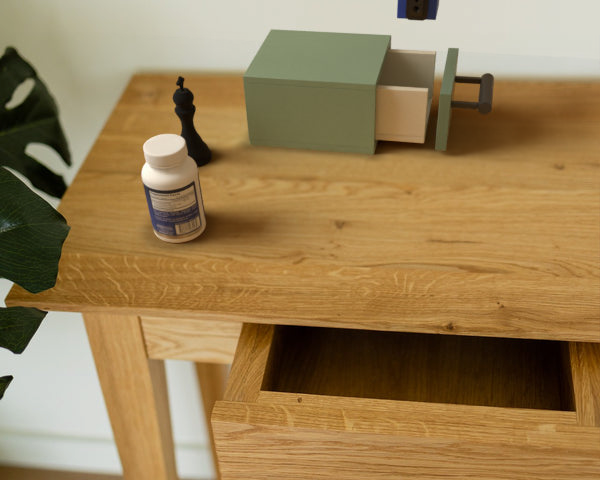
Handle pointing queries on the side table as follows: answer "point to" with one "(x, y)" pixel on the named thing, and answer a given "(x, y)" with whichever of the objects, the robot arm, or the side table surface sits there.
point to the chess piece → (190, 125)
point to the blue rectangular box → (431, 9)
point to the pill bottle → (172, 189)
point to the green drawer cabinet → (315, 90)
